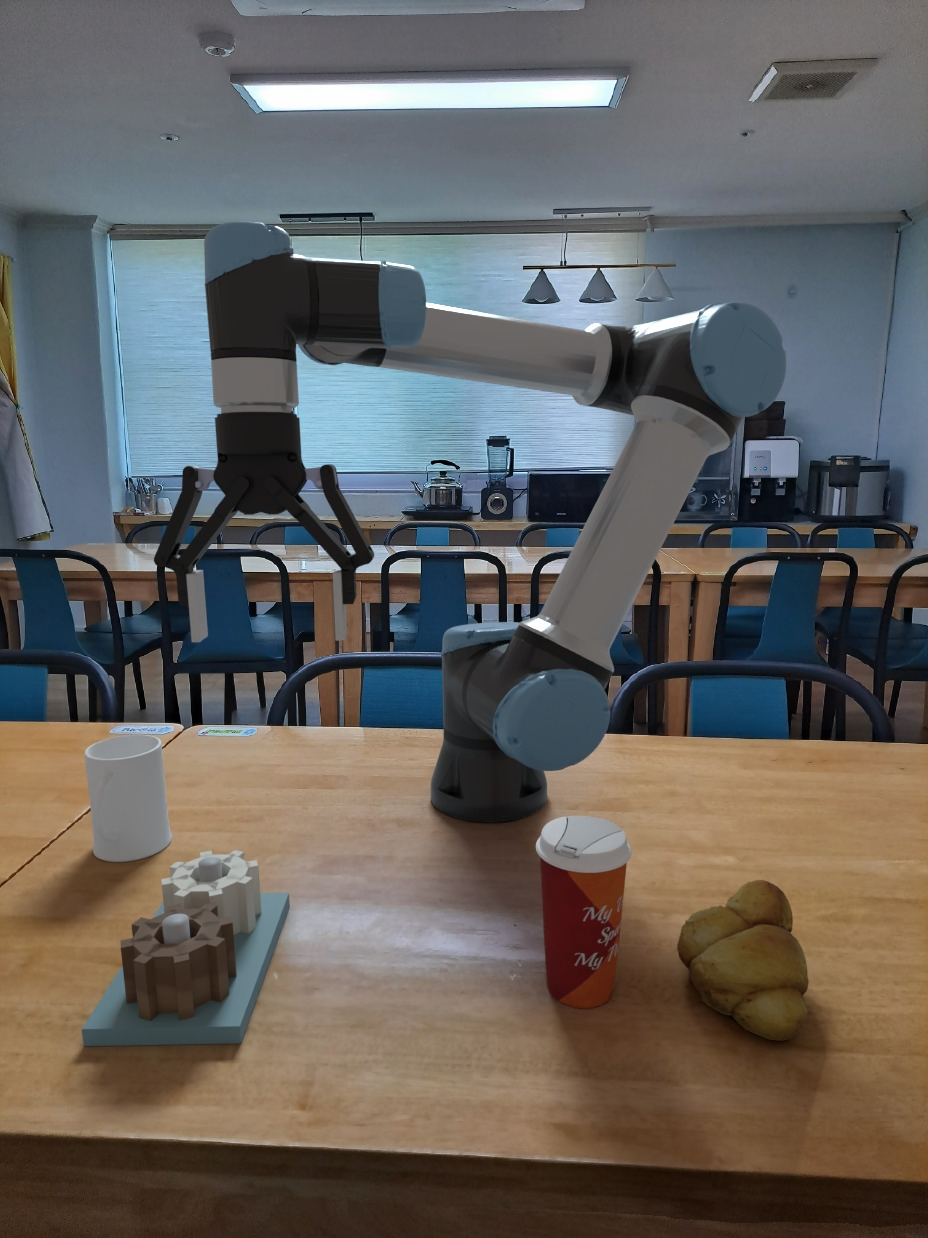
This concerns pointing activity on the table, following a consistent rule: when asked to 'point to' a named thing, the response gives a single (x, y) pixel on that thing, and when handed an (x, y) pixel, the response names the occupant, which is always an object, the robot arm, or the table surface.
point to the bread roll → (749, 961)
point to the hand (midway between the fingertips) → (270, 638)
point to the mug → (127, 797)
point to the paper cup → (582, 906)
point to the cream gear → (217, 889)
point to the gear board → (212, 1019)
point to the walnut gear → (178, 963)
